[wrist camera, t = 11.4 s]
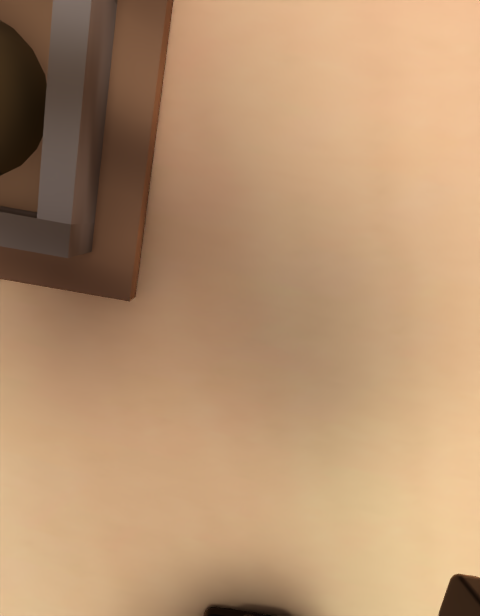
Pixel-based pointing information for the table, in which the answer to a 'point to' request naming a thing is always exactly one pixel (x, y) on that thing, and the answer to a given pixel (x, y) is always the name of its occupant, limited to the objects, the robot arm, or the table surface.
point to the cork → (19, 100)
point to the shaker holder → (86, 144)
